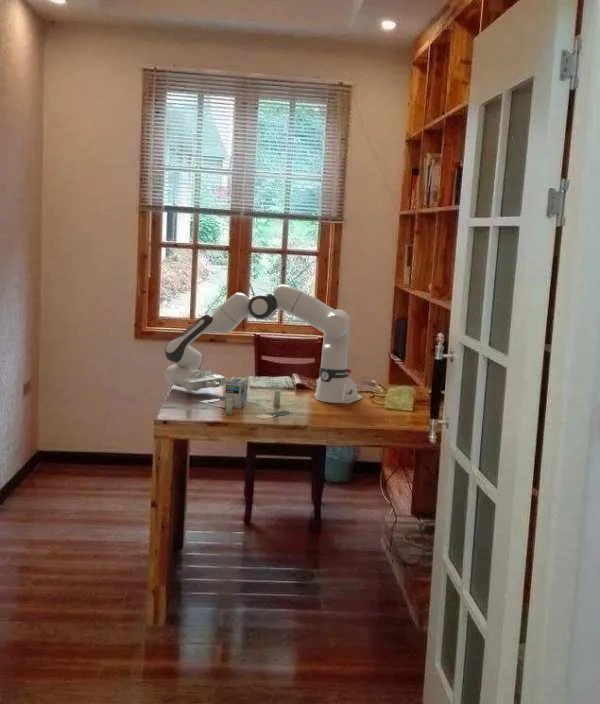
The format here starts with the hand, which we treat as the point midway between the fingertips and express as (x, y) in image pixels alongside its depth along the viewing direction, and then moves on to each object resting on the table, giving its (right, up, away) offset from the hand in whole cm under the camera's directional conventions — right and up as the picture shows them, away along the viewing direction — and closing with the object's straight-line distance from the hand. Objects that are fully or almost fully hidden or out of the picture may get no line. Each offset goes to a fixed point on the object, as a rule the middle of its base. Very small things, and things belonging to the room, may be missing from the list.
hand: (217, 385), depth 330 cm
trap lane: (+12, -8, -9) cm, 18 cm away
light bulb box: (+8, -8, -6) cm, 13 cm away
